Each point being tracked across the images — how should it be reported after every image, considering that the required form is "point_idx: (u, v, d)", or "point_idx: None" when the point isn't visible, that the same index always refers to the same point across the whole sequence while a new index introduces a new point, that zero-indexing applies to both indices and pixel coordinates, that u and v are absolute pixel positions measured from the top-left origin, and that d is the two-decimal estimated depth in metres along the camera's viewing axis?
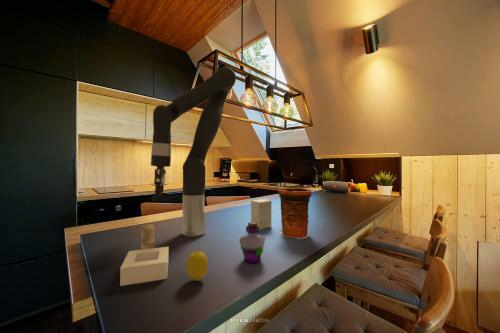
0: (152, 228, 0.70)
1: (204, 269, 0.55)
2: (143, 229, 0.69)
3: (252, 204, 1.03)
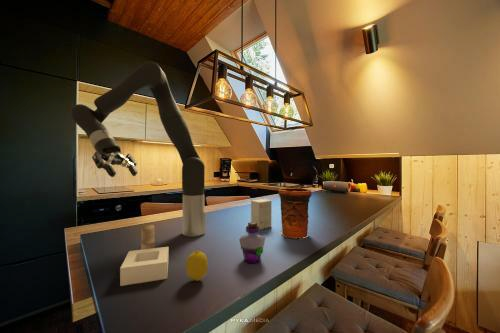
0: (152, 228, 0.70)
1: (204, 269, 0.55)
2: (143, 229, 0.69)
3: (252, 204, 1.03)
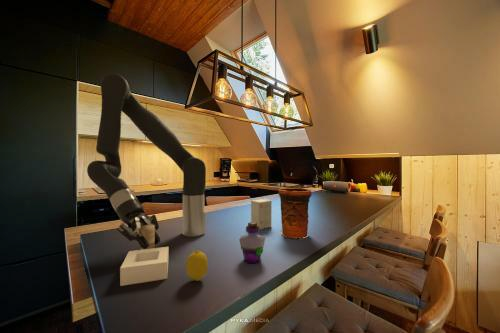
0: (152, 228, 0.70)
1: (204, 269, 0.55)
2: (143, 229, 0.69)
3: (252, 204, 1.03)
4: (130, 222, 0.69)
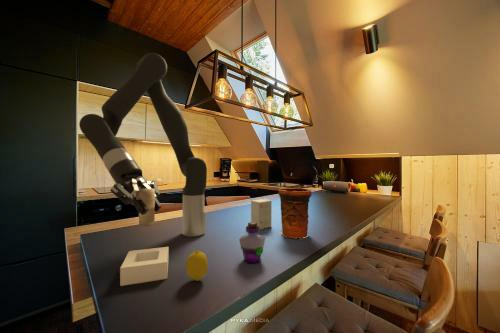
0: (152, 191, 0.60)
1: (204, 269, 0.55)
2: (141, 191, 0.58)
3: (252, 204, 1.03)
4: (126, 183, 0.59)
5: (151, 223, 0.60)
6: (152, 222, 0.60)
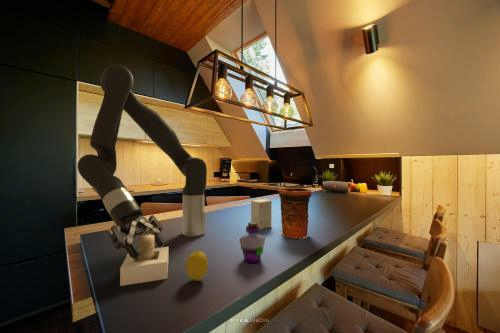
0: (151, 239, 0.60)
1: (204, 269, 0.55)
2: (141, 241, 0.59)
3: (252, 204, 1.03)
4: (125, 225, 0.59)
5: None
6: None
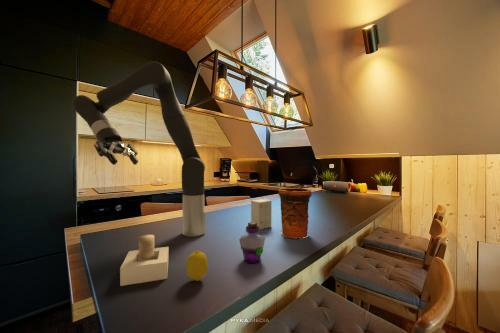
0: (151, 239, 0.60)
1: (204, 269, 0.55)
2: (141, 241, 0.59)
3: (252, 204, 1.03)
4: (107, 143, 0.80)
5: None
6: None
